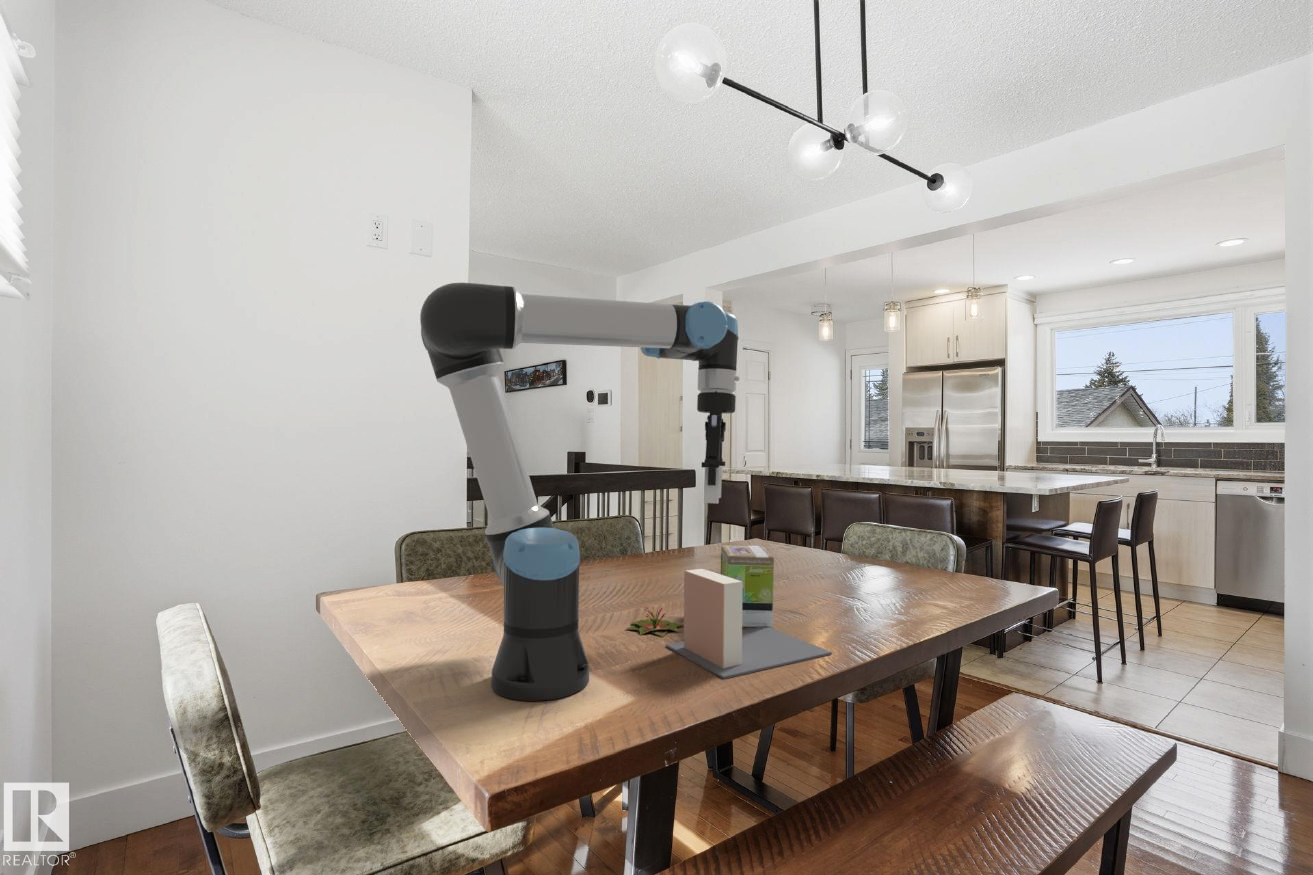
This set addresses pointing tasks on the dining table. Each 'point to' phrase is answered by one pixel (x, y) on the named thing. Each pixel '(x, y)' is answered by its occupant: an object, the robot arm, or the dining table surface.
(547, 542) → the robot arm
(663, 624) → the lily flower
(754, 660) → the mat
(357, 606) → the dining table surface
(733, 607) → the cream rectangular block
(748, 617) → the tea box
